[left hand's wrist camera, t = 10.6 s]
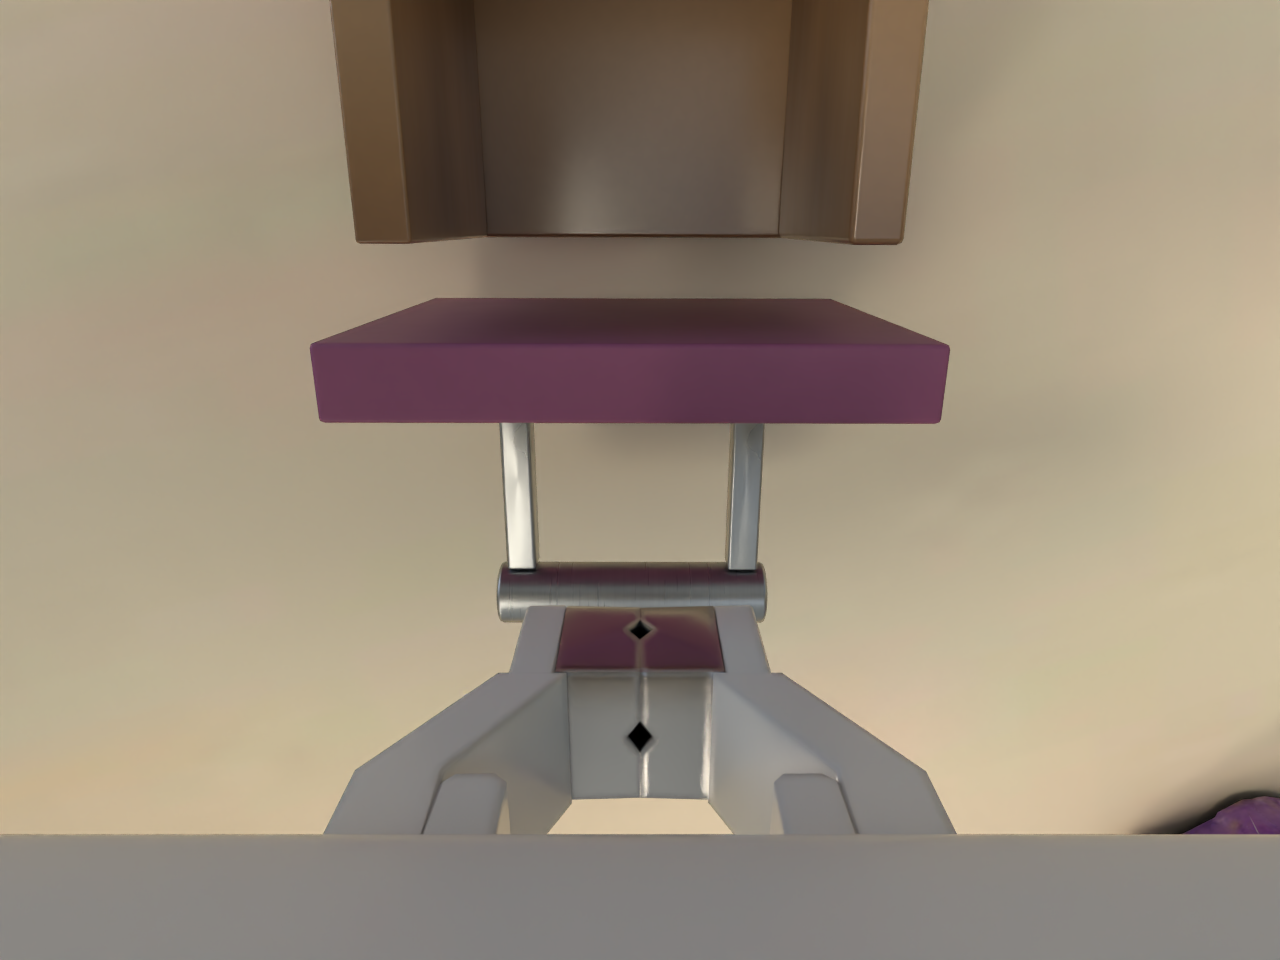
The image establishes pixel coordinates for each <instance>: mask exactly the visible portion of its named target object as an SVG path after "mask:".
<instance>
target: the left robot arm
mask: <svg viewBox="0 0 1280 960" xmlns="http://www.w3.org/2000/svg"><path fill="white" fill-rule="evenodd" d="M607 798H672V799H708V803H709V804H710V805H711V806H712V808H713V809H714V810H715V811H716V813H717V814H718V815H719V816H720V818H721V819H722V820H723V821H724V823H725V824H726V825H727V826H728V828H729V829H730V830H731V831H732V833H733V834H547V833H548V832H549V831H550V829H551V828H552V827H553V826H554V825H555V823H556V822H557V821H558V820H559V818H560V817H561V816H562V815H563V813H564V812H565V811H566V810H567V808H568V807H569V806H570V805H571V804H572V799H607ZM0 960H1280V834H957V833H956V831H955V829H954V827H953V825H952V823H951V821H950V819H949V817H948V815H947V813H946V811H945V809H944V807H943V805H942V803H941V801H940V799H939V797H938V795H937V793H936V791H935V789H934V787H933V785H932V783H931V781H930V779H929V777H928V775H927V772H926V771H925V770H923V769H922V768H920V767H919V766H917V765H916V764H914V763H913V762H911V761H910V760H908V759H907V758H906V757H904V756H903V755H901V754H900V753H898V752H897V751H895V750H894V749H892V748H891V747H889V746H888V745H887V744H885V743H884V742H882V741H881V740H879V739H878V738H876V737H875V736H873V735H872V734H870V733H869V732H867V731H866V730H865V729H863V728H862V727H860V726H859V725H857V724H856V723H854V722H853V721H851V720H850V719H848V718H847V717H845V716H844V715H843V714H841V713H840V712H838V711H837V710H835V709H834V708H832V707H831V706H829V705H828V704H826V703H825V702H824V701H822V700H821V699H819V698H818V697H816V696H815V695H813V694H812V693H810V692H809V691H807V690H806V689H804V688H803V687H802V686H800V685H799V684H797V683H796V682H794V681H793V680H791V679H790V678H788V677H787V676H785V675H784V674H782V673H771V671H770V667H769V664H768V660H767V657H766V653H765V649H764V646H763V642H762V639H761V635H760V632H759V628H758V624H757V621H756V617H755V614H754V610H753V607H751V606H750V605H735V606H690V607H649V608H640V607H603V606H567V607H566V606H565V605H546V606H530V607H528V609H527V610H526V613H525V616H524V620H523V624H522V627H521V631H520V635H519V638H518V642H517V645H516V649H515V653H514V656H513V660H512V664H511V667H510V671H509V673H498V674H496V675H495V676H493V677H492V678H490V679H489V680H487V681H486V682H484V683H483V684H481V685H480V686H478V687H477V688H475V689H474V690H473V691H471V692H470V693H468V694H467V695H465V696H464V697H462V698H461V699H459V700H458V701H456V702H455V703H453V704H452V705H450V706H449V707H448V708H446V709H445V710H443V711H442V712H440V713H439V714H437V715H436V716H434V717H433V718H431V719H430V720H428V721H427V722H425V723H424V724H422V725H421V726H420V727H418V728H417V729H415V730H414V731H412V732H411V733H409V734H408V735H406V736H405V737H403V738H402V739H400V740H399V741H397V742H396V743H395V744H393V745H392V746H390V747H389V748H387V749H386V750H384V751H383V752H381V753H380V754H378V755H377V756H375V757H374V758H372V759H371V760H369V761H368V762H367V763H365V764H364V765H362V766H361V767H359V768H358V769H356V770H355V771H354V773H353V775H352V777H351V779H350V781H349V783H348V785H347V787H346V789H345V791H344V793H343V795H342V797H341V799H340V801H339V803H338V805H337V807H336V809H335V811H334V813H333V815H332V817H331V819H330V821H329V823H328V825H327V827H326V829H325V831H324V833H323V834H0Z"/></svg>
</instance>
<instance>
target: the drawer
mask: <svg viewBox="0 0 1280 960" xmlns="http://www.w3.org/2000/svg"><path fill="white" fill-rule="evenodd" d="M329 1H330V10H331V19H332V28H333V37H334V47H335V56H336V65H337V74H338V83H339V92H340V101H341V110H342V119H343V128H344V137H345V146H346V156H347V165H348V174H349V183H350V192H351V201H352V210H353V219H354V228H355V237H356V241H357V242H358V243H360V244H410V243H422V242H434V241H445V240H457V239H469V238H480V237H667V238H789V239H799V240H810V241H820V242H831V243H841V244H851V245H897V244H900V243H901V242H902V240H903V238H904V230H905V221H906V212H907V202H908V193H909V184H910V174H911V165H912V156H913V146H914V137H915V127H916V118H917V109H918V99H919V90H920V81H921V71H922V62H923V53H924V43H925V34H926V24H927V15H928V6H929V0H329ZM310 353H311V361H312V368H313V376H314V383H315V390H316V398H317V405H318V413H319V419H320V421H322V422H325V423H499V427H500V444H501V462H502V479H503V497H504V514H505V532H506V549H507V562H504V563H502V565H501V567H500V570H499V574H498V581H497V610H498V615H499V618H500V620H501V621H502V622H523V620H524V616H525V613H526V610H527V609H528V607H530V606H546V605H565V606H566V607H567V606H603V607H640V608H649V607H690V606H735V605H750V606H751V607H753V610H754V614H755V617H756V621H757V623H760V622H763V621H764V619H765V615H766V610H767V580H766V573H765V569H764V567H763V564H762V563H759V562H757V555H758V537H759V520H760V502H761V484H762V466H763V448H764V430H765V423H812V424H935V423H938V422H940V420H941V414H942V407H943V399H944V392H945V384H946V376H947V369H948V361H949V353H950V348H949V345H947V344H944V343H942V342H939V341H937V340H934V339H931V338H929V337H926V336H924V335H921V334H919V333H916V332H914V331H911V330H908V329H906V328H903V327H901V326H898V325H896V324H893V323H890V322H888V321H885V320H883V319H880V318H878V317H875V316H873V315H870V314H867V313H865V312H862V311H860V310H857V309H855V308H852V307H849V306H847V305H844V304H842V303H839V302H837V301H834V300H832V299H605V298H435V299H432V300H429V301H426V302H424V303H421V304H418V305H416V306H413V307H410V308H407V309H405V310H402V311H399V312H396V313H394V314H391V315H388V316H386V317H383V318H380V319H377V320H375V321H372V322H369V323H366V324H364V325H361V326H358V327H355V328H353V329H350V330H347V331H345V332H342V333H339V334H336V335H334V336H331V337H328V338H325V339H323V340H320V341H317V342H315V343H312V344H311V346H310ZM534 423H730V445H729V470H728V494H727V518H726V542H725V560H726V562H538V560H539V533H538V510H537V486H536V463H535V440H534Z"/></svg>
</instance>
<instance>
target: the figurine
mask: <svg viewBox="0 0 1280 960" xmlns="http://www.w3.org/2000/svg"><path fill="white" fill-rule="evenodd" d="M1183 834H1280V799H1279V798H1274V797H1268V796H1262V797H1256V798H1253V799H1242V800H1240V801H1238V802H1236V803H1234V804H1232V805H1230V806H1229V807H1227V808H1225V809H1223V810H1221V811H1219V812H1217V814H1216V816H1215V817H1214V818H1212V819H1210V820H1208V821H1206V822H1205V823H1203V824H1201V825H1199V826H1197V827H1195V828H1193V829H1191V830H1189V831H1187V832H1185V833H1183Z"/></svg>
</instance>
